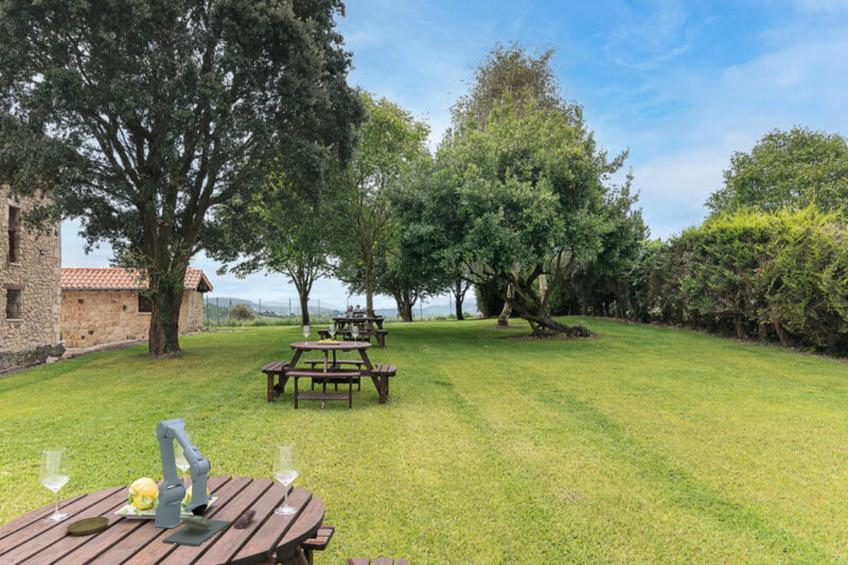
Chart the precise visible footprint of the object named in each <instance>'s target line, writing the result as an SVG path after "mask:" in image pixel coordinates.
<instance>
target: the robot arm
mask: <svg viewBox="0 0 848 565" xmlns="http://www.w3.org/2000/svg"><path fill="white" fill-rule="evenodd" d="M186 426H187V424H186V423H185V421H184V419H183V418H182V417H177V418H173V419H169V420H168V419H167V420H160V421H159V422H158V423H157V425H156V427H155V430H156V431H155V432H156V439H157V442H159V450H160V451H159V452H160V457H161V458H160V459H161V466H162V473H163V482H162V483H161V484H160V485H159V487H158V494H157V500H158V504H157V506H156V508H155V517H154V518H155V519H154V521H155V522H154V524H153V527H154V528H162V529H163V528H164V529H165V528H166V529H174V528H176V527H177V526H180V525H182V524H183V523H184V522H183V521H182V519H181V518H180V515H181V514H182V513H181V512H182V502H183V501H184V499H185V497H186V495H187V488H186V486H185V484H184V480H183V479H180V478H178V472H177V464H176V455H175V454H176V453H175V449H174V447H175V446H174V440H175V441H177V443H178V444H179V445H180V446H181V448H182V450H183V452H182V456H183V457H184V459H185V460H186V462H187V464H188V465H189V469H188V472H189V474H190V479H191V501H190V502H189V503H188V504H187V505H186V506H185V507H184V512H185V513H192V515H194V516H203V517H204V515H205V513H206V510H207V509H208V503H209V502H210V501H212V499H213V494H209V493H207V492H208V473H209V472H210V471H211V468H212V466H211V461H210V460H209V458H206V457H205V456H203V455H202V453H201V451H200V450H199V448H198V447H197V445H193V444H192V442H191V440H190V437H189V436H188V434H187V432H186Z"/></svg>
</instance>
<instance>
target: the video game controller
mask: <svg viewBox="0 0 848 565" xmlns="http://www.w3.org/2000/svg"><path fill="white" fill-rule="evenodd" d="M256 513H257V511H256V510H253V509H252V508H251V509H249V510H246V511H245V512H244V513H243V515H241V517H240V518H239V519H238V520H237V521H236V522H234V524H233V528H234V529H240V527H245V526H246V525H247V524H250V523H251V521H252V520H253V518H255V516H256V515H257V514H256Z"/></svg>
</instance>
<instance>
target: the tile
mask: <svg viewBox="0 0 848 565" xmlns="http://www.w3.org/2000/svg"><path fill="white" fill-rule="evenodd" d="M180 518H181V519H180V520H182V521H183V523H184V525H185V526H187V527H188V528H192V529H202V530H211V528H212V527H211V526H210V525H209V524H208V522H207V521H206V520H205V519H206V518H205V517H204V515H203V516H194V515H193V514H182V513H181V515H180Z"/></svg>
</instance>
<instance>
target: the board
mask: <svg viewBox="0 0 848 565" xmlns="http://www.w3.org/2000/svg"><path fill="white" fill-rule="evenodd" d="M205 520H206V521H207V522H208V524H209V525H210V526H211V527H212V528H211V530H202V529H192V528H188V527H187V525H185V526H183V527H182V528H181V529H179V530H177V531H175V532H173V533H172V534H170V535H168V536H167V537H165V538H164V539H162V542H164V543H163V544H169V543H176V544H175V545H177V546H178V545H180V546H186V545H188V546H189V547H195V546H199V545H200V546H202V545H203V544H204V543H203V542H205V541H206V540H207V541H209V540H210V539H212V538H213V537H214V536H213V535H215V534H216V533H218V532H219V531H221V530H222V531H224V530H225V529H226V528H228V527H229V526H231V525H232V520H231V521H230V520H221V519H220V520H219V519H218V520H217V519H209V518H205ZM224 528H225V529H224ZM222 531H221V532H222ZM219 533H220V532H219ZM219 533H218V534H219ZM216 535H217V534H216ZM216 535H215V536H216ZM212 536H213V537H212ZM211 537H212V538H211ZM209 538H210V539H209ZM208 539H209V540H208ZM207 541H206V542H207ZM162 542H161V543H162ZM206 542H205V543H206ZM202 543H203V544H202ZM201 544H202V545H201ZM188 546H187V547H188ZM200 546H199V547H200Z"/></svg>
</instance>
